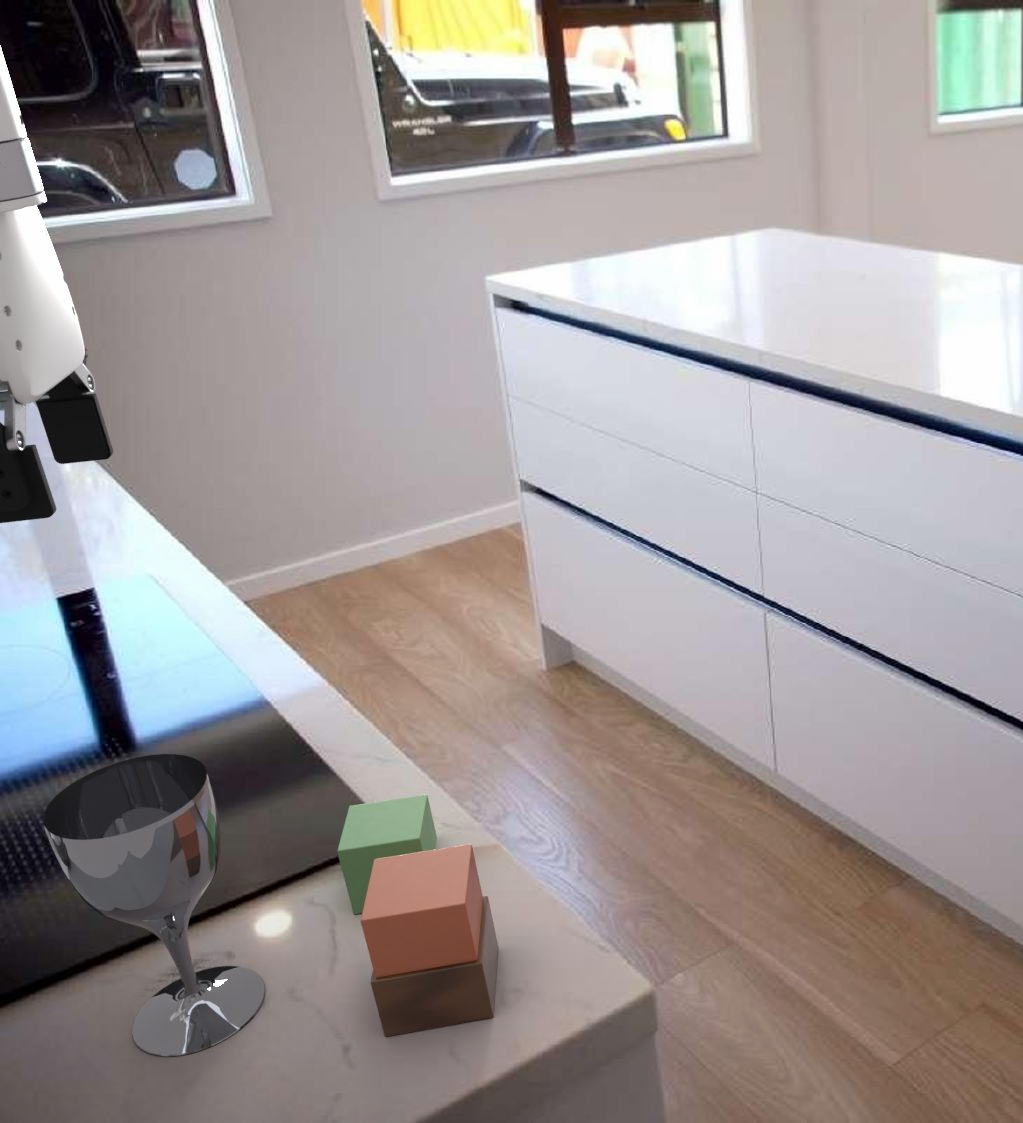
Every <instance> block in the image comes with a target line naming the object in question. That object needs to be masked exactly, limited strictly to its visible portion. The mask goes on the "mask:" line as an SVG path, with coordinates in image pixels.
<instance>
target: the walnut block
mask: <svg viewBox="0 0 1023 1123" xmlns="http://www.w3.org/2000/svg"><path fill="white" fill-rule="evenodd" d="M482 896H483V904H482V915H481V926H480V937H479V948H478V959H477V960H476V961H471V962H465V963H459V964H453V965H448V966H442V967H436V968H430V969H424V970H418V971H413V972H407V973H401V974H395V975H389V976H384V977H378V978H376V977H375V974H374V970H373V969H372V972H371V977H370V982H369V983H370V986H371V991H372V994H373V998H374V1002H375V1005H376V1010H377V1013H378V1017H379V1020H380V1021H379V1022H380V1024H381V1029H382V1032H383V1035H384V1037H391V1036H397V1035H402V1034H403V1035H404V1034H409V1033H413V1032H420V1031H425V1030H431V1029H436V1028H437V1029H438V1028H443V1027H447V1026H453V1025H458V1024H465V1023H468V1022H469V1023H470V1022H477V1021H482V1020H488V1019H493V1018H494V1017H495V1002H496V989H497V988H496V987H497V974H498V961H499V960H498V959H499V943H498V939H497V933H496V929H495V923H494V920H493V915H492V914H493V913H492V910H491V904H490V900H489V896H488V895H482Z"/></svg>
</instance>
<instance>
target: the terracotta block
mask: <svg viewBox="0 0 1023 1123" xmlns="http://www.w3.org/2000/svg"><path fill="white" fill-rule="evenodd" d="M473 849H474V848H473V844H472V843H467V844H462V845H456V846H448V847H442V848H437V849H436V848H435V850H430V851H423V852H417V853H411V854H404V855H398V856H392V857H385V858H379V859H374V862H373V867H372V872H371V876H370V881H369V885H368V890H367V894H366V899H365V903H364V908H363V912H362V913H361V917H360V924H361V928H362V933H363V936H364V940H365V943H366V947H367V951H368V956H369V958H370V963H371V967H372V971H373V970H374V974H375V977H376V978H378V977H384V976H389V975H395V974H401V973H407V972H413V971H418V970H424V969H430V968H436V967H442V966H448V965H453V964H459V963H465V962H471V961H476V960H477V959H478V948H479V937H480V926H481V915H482V904H483V896H484V895H483V891H482V886H481V881H480V877H479V872H478V868H477V862H476V857H475V852H474V850H473Z"/></svg>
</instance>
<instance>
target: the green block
mask: <svg viewBox="0 0 1023 1123" xmlns="http://www.w3.org/2000/svg"><path fill="white" fill-rule="evenodd" d="M430 804H431V803H430V800H429V796H428V794H419V795H413V796H406V797H400V798H394V799H385V800H379V801H372V802H367V803H360V804H353V805H349V806H348V810H347V813H346V817H345V821H344V823H343V824H344V825H343V828H342V831H341V836H340V839H339V843H338V846H337V850H336V852H337V856H338V860H339V864H340V868H341V872H342V875H343V879H344V882H345V887H346V891H347V894H348V898H349V902H350V906H351V909H352V913H353V915H360V914H362V912H363V908H364V903H365V899H366V894H367V890H368V885H369V881H370V876H371V872H372V867H373V862H374V859H379V858H385V857H392V856H398V855H404V854H411V853H417V852H423V851H430V850H436V846H437V840H438V836H437V832H436V827H435V822H434V817H433V813H432V809H431V805H430Z"/></svg>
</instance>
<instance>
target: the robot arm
mask: <svg viewBox="0 0 1023 1123" xmlns="http://www.w3.org/2000/svg"><path fill="white" fill-rule="evenodd" d="M13 87H14V86H13V83H12V80H11V77H10V74H9V70H8V67H7V64H6V60H5V57H4V54H3V51H2V47H1V46H0V412H3V414H4V415H3V416H4V419H3V421H4V422H3V423H2V422H1V421H0V524H5V523H13V522H14V523H15V522H22V521H31V520H41V519H42V520H43V519H48V518H52V516H53V515H54V514H55V513H56V511H57V506H56V502H55V499H54V496H53V494H52V490H51V487H50V484H49V481H48V478H47V475H46V472H45V468H44V465H43V464H42V463H43V462H42V460H41V457H40V454H39V451H38V448H37V445H36V444H27V405H28V404H32V403H34V402H35V405H36V407H37V410H38V413H39V416H40V419H41V422H42V426H43V429H44V431H45V435H46V438H47V441H48V444H49V448H50V450H51V454H52V456H53V459H54V461H55V462H56V463H57V464H60V465H65V464H75V463H85V462H94V461H103V460H109V459H110V458H111V457H112V456H113V455H114V448H113V445H112V441H111V438H110V434H109V432H108V431H109V430H108V428H107V425H106V422H105V419H104V418H105V417H104V415H103V412H102V408H101V404H100V401H99V399H98V396H97V393H95V391H96V382H95V377H94V376H93V374H92V372H91V371H90V370H89V369H88V368H87V358H89V354H88V353H87V352H88V349H87V348H86V347H85V343H84V338H83V334H82V329H81V325H80V318H79V315H78V313H77V311H76V308H75V305H74V301H73V299H72V295H71V293H70V290H69V287H68V284H67V281H66V278H65V275H64V272H63V270H62V268H61V267H62V266H61V265H60V262H59V259H58V256H57V253H56V251H55V248H54V245H53V242H52V240H51V238H50V236H49V233H48V230H47V227H46V225H45V222H44V220H43V217H42V215H41V213H40V210H39V209H38V206H39V205H42V204H45V203H46V202H48V199H47V196H46V194H45V190H44V186H43V183H42V179H41V176H40V173H39V169H38V167H37V163H36V159H35V156H34V153H33V150H32V147H31V142H30V140H29V138H28V137H27V136H28V135H27V131H26V128H25V123H24V120H23V117H22V113H21V110H20V107H19V104H18V101H17V98H16V94H15V90H14V88H13ZM41 397H43V398H41Z"/></svg>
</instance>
